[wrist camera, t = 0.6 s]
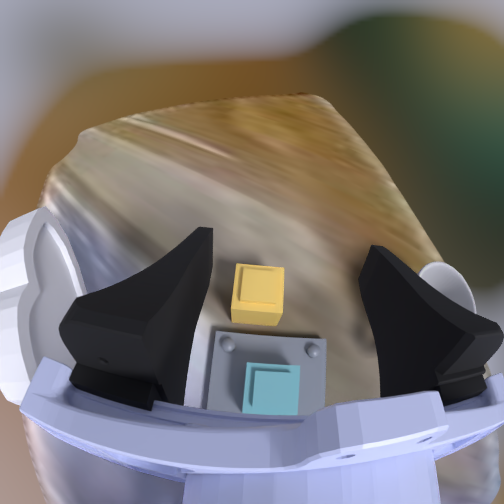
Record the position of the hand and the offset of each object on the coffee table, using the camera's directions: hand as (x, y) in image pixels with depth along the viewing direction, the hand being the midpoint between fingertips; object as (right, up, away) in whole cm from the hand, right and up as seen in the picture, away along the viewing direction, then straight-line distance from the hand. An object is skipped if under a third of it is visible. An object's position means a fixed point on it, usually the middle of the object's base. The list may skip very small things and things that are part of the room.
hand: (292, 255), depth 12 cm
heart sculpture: (-19, -11, +15) cm, 27 cm away
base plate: (0, -15, +14) cm, 20 cm away
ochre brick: (-1, -6, +19) cm, 20 cm away
